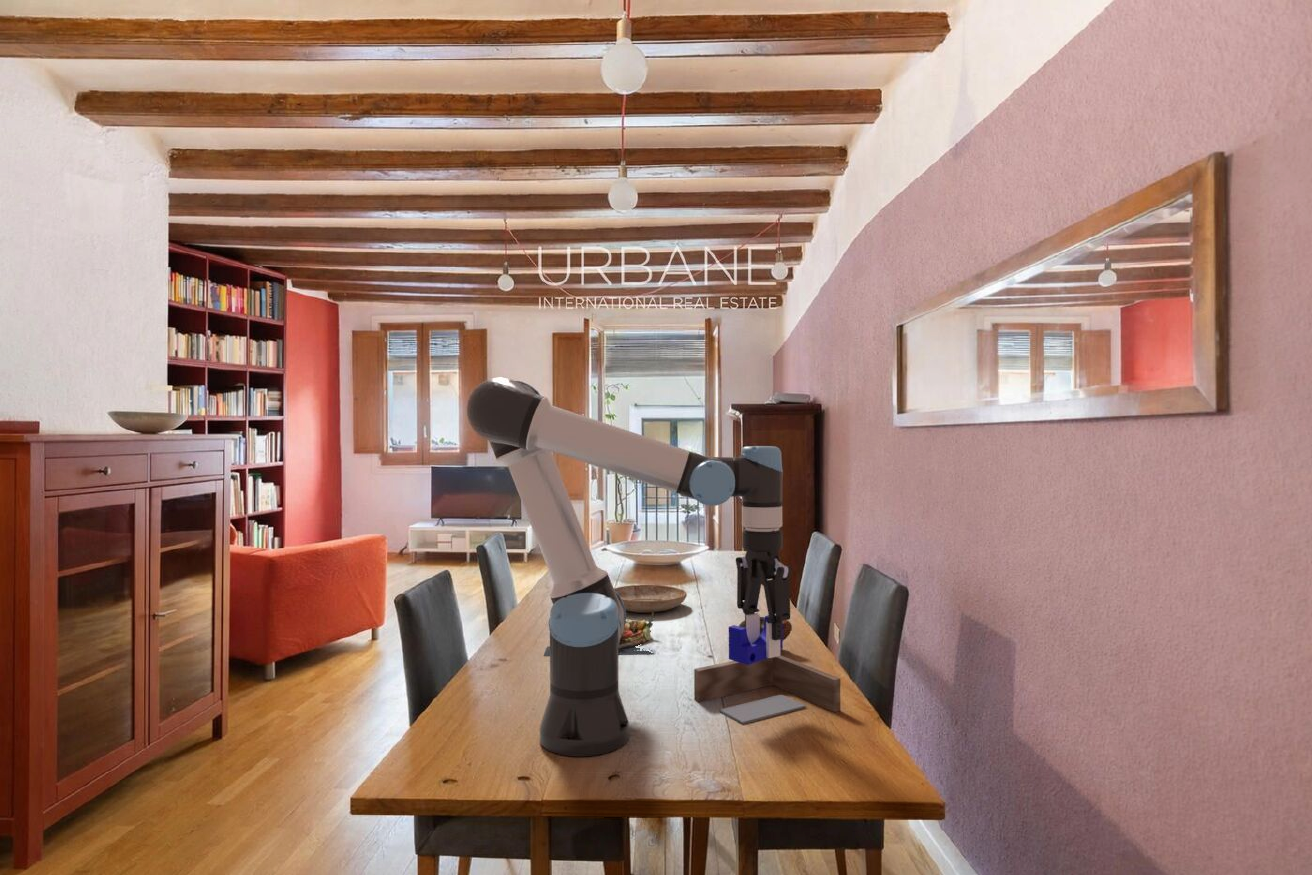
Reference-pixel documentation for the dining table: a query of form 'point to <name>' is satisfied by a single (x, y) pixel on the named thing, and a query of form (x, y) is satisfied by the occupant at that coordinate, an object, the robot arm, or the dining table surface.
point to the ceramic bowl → (650, 597)
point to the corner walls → (768, 680)
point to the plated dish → (631, 638)
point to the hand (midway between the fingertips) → (763, 652)
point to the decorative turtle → (785, 627)
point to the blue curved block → (747, 645)
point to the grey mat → (761, 709)
